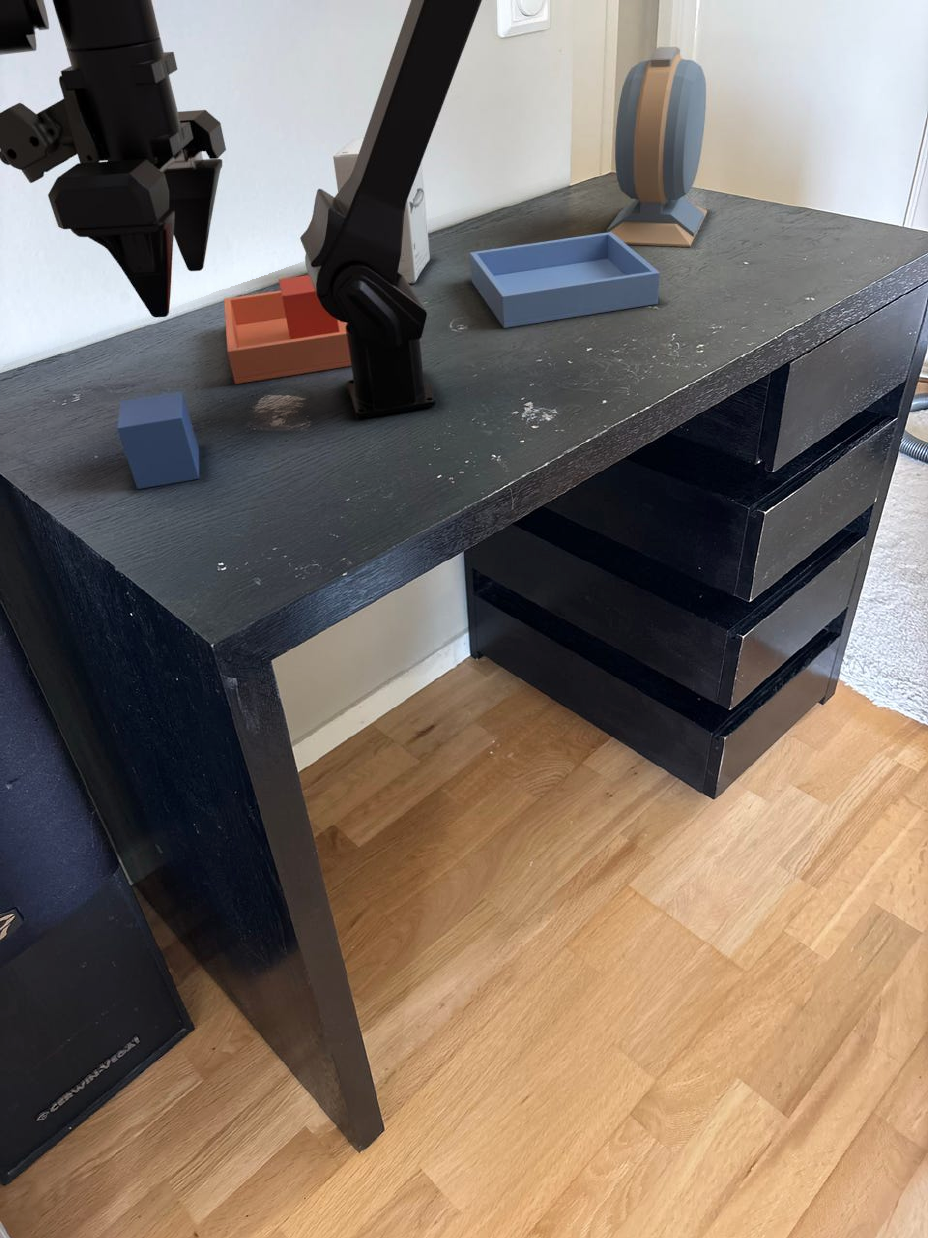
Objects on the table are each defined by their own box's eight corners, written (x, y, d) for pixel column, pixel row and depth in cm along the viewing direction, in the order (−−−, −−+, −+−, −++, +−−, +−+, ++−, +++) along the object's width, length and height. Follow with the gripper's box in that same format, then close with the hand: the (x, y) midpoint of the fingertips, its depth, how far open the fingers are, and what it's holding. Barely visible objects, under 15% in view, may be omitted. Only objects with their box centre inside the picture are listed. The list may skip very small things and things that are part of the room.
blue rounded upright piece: (626, 207, 112) (633, 36, 101) (708, 209, 109) (724, 34, 98) (598, 246, 102) (603, 61, 91) (688, 249, 99) (704, 59, 88)
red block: (341, 342, 85) (332, 288, 82) (292, 350, 84) (282, 295, 81) (335, 324, 88) (327, 271, 85) (288, 331, 88) (278, 278, 85)
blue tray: (657, 304, 88) (660, 272, 86) (503, 328, 86) (502, 296, 84) (610, 260, 98) (611, 231, 96) (471, 281, 96) (469, 252, 94)
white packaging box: (416, 284, 97) (403, 152, 89) (349, 284, 98) (329, 154, 90) (432, 260, 102) (421, 134, 94) (368, 260, 104) (351, 136, 96)
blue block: (199, 478, 68) (181, 417, 65) (137, 489, 68) (116, 427, 65) (199, 450, 72) (182, 390, 69) (140, 460, 71) (120, 400, 68)
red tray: (406, 357, 83) (402, 324, 81) (235, 384, 81) (227, 351, 79) (383, 305, 93) (379, 275, 91) (230, 328, 91) (223, 298, 89)
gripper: (46, 29, 65) (114, 255, 75) (-85, 79, 51) (20, 350, 61) (200, 18, 64) (248, 247, 74) (111, 65, 50) (185, 342, 60)
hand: (179, 291), depth 67 cm, fingers open, 9 cm apart
